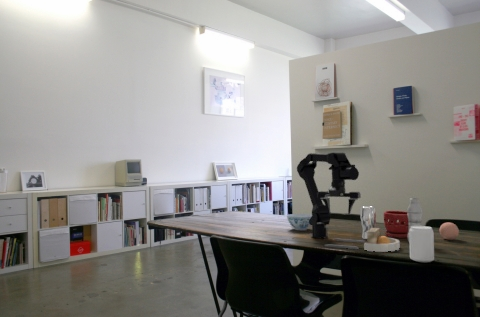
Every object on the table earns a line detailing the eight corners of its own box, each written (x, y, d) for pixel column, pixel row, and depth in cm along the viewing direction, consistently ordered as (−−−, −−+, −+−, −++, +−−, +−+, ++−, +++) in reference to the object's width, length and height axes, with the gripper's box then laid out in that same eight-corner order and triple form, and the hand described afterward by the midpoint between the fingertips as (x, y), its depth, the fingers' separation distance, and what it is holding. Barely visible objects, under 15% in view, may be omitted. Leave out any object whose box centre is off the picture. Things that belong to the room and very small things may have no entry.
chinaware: (314, 231, 211) (314, 217, 211) (286, 231, 214) (286, 217, 214) (314, 227, 226) (314, 214, 226) (288, 227, 229) (287, 213, 229)
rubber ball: (381, 251, 165) (373, 241, 167) (383, 249, 170) (375, 239, 171) (391, 244, 163) (383, 234, 165) (393, 242, 168) (385, 232, 169)
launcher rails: (324, 246, 171) (324, 244, 171) (334, 240, 185) (334, 238, 185) (357, 249, 165) (357, 247, 165) (365, 242, 179) (365, 240, 179)
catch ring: (364, 250, 162) (363, 243, 162) (372, 242, 178) (372, 236, 179) (396, 253, 156) (396, 245, 156) (402, 245, 173) (401, 238, 173)
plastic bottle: (422, 242, 177) (421, 197, 178) (424, 245, 171) (423, 199, 171) (406, 241, 179) (405, 197, 180) (407, 244, 173) (406, 198, 173)
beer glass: (377, 239, 186) (376, 207, 186) (361, 239, 187) (361, 207, 187) (375, 237, 192) (374, 206, 193) (360, 236, 194) (359, 206, 194)
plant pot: (383, 238, 190) (383, 213, 190) (384, 233, 202) (384, 210, 202) (413, 239, 185) (412, 213, 185) (412, 235, 197) (411, 210, 197)
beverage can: (405, 258, 148) (404, 225, 149) (426, 257, 149) (425, 225, 149) (417, 263, 140) (416, 229, 141) (438, 262, 141) (438, 228, 141)
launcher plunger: (367, 248, 165) (367, 231, 165) (372, 243, 175) (372, 227, 175) (374, 249, 163) (374, 232, 163) (379, 244, 174) (379, 228, 174)
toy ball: (458, 238, 186) (457, 221, 186) (459, 241, 179) (459, 224, 179) (439, 237, 189) (438, 221, 189) (439, 240, 182) (439, 223, 182)
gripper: (313, 180, 179) (313, 214, 179) (354, 180, 170) (355, 216, 170) (320, 179, 189) (321, 212, 189) (360, 179, 180) (361, 213, 180)
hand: (339, 213), depth 182 cm, fingers open, 9 cm apart
